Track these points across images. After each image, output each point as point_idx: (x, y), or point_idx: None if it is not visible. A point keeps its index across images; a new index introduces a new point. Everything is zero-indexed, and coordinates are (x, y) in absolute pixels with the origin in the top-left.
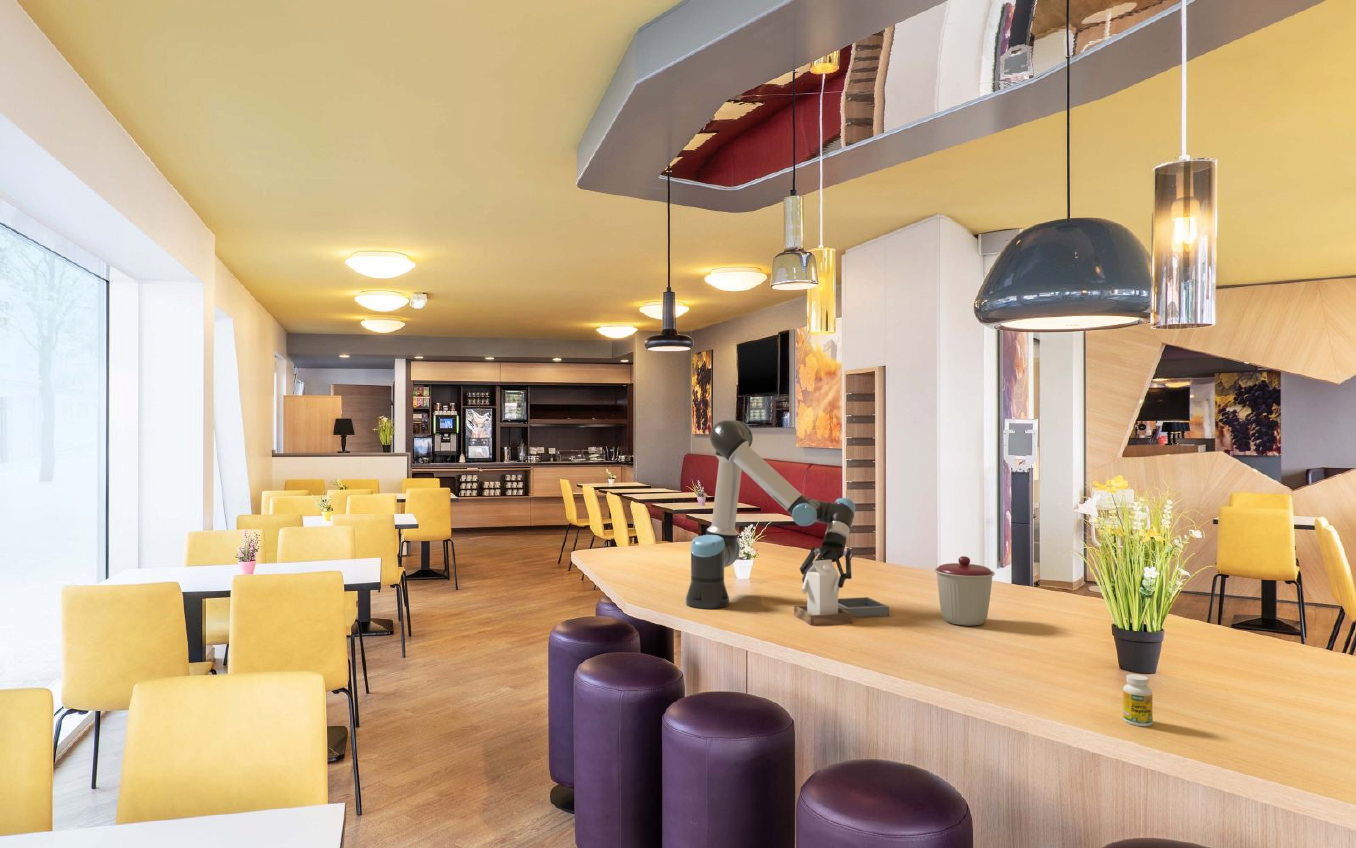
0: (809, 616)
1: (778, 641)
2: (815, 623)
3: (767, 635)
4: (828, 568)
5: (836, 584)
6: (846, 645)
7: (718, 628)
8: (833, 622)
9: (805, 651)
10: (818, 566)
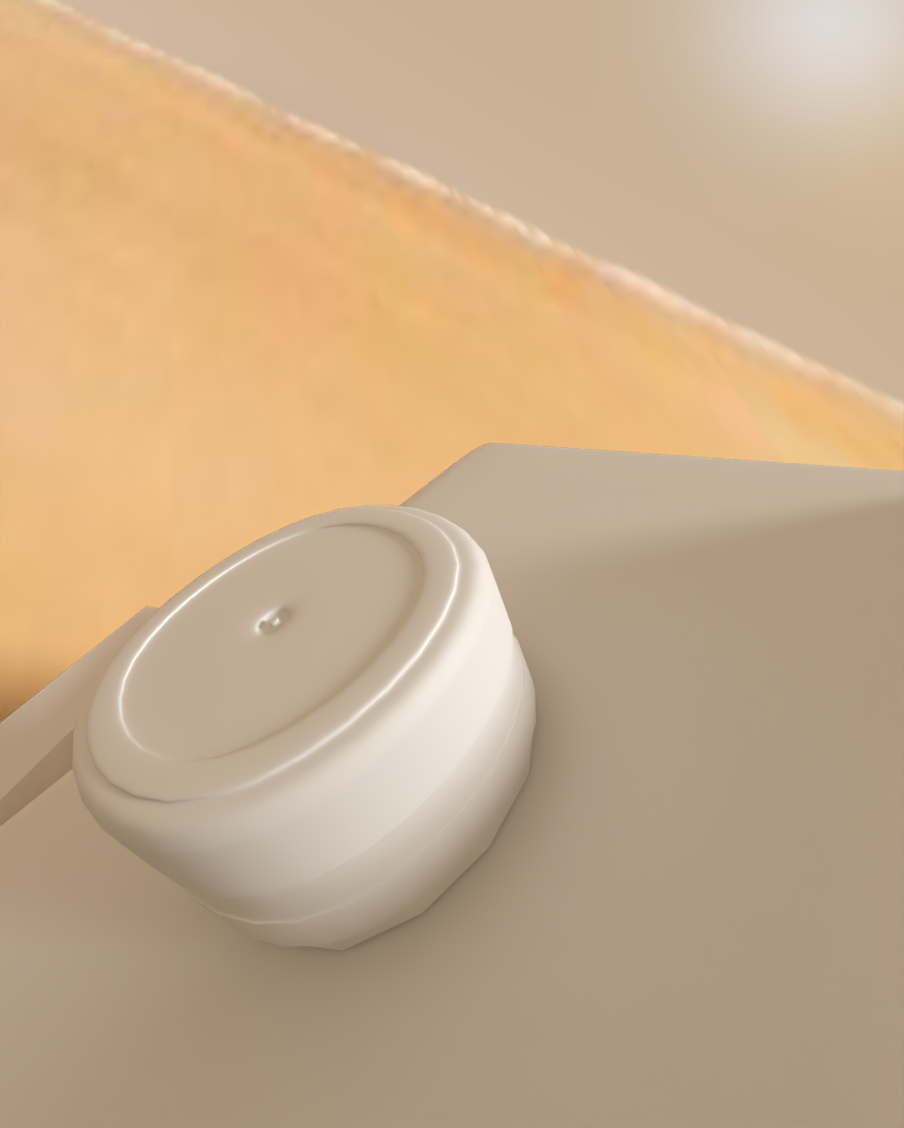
0: None
1: (505, 252)
2: None
3: (594, 327)
4: (204, 595)
5: (59, 693)
6: (137, 235)
7: (858, 390)
8: None
9: (345, 151)
10: (748, 579)
